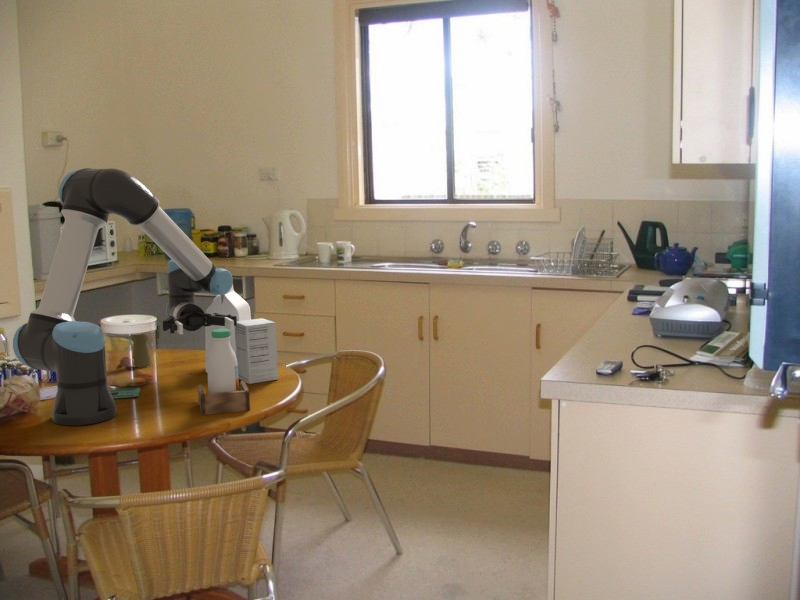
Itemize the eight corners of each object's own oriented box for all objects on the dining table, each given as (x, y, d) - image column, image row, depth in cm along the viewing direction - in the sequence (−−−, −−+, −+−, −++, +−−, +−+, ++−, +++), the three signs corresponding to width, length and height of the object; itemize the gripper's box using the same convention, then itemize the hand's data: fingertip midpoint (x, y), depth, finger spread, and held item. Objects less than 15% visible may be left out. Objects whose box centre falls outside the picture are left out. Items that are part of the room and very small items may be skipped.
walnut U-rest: (201, 414, 223) (200, 395, 222) (198, 403, 234) (197, 384, 233) (250, 410, 227) (249, 391, 226) (245, 399, 237) (244, 380, 236)
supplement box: (279, 379, 257) (276, 322, 254) (249, 384, 252) (246, 326, 249) (265, 373, 265) (263, 317, 262) (236, 377, 260) (233, 320, 257)
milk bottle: (232, 410, 226) (229, 333, 223) (204, 409, 228) (200, 332, 225) (244, 402, 234) (240, 327, 230) (216, 401, 235) (212, 326, 232)
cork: (129, 365, 278) (126, 330, 276) (147, 362, 281) (145, 328, 280) (136, 369, 273) (133, 333, 271) (155, 366, 277) (152, 331, 275)
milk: (242, 373, 265) (238, 286, 261) (205, 372, 267) (201, 286, 263) (255, 364, 277) (251, 280, 273) (219, 363, 279) (215, 280, 275)
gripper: (232, 326, 262) (253, 337, 243) (145, 332, 252) (160, 345, 233) (231, 300, 261) (252, 310, 242) (144, 306, 250) (158, 316, 232)
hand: (207, 327), depth 237 cm, fingers open, 13 cm apart
